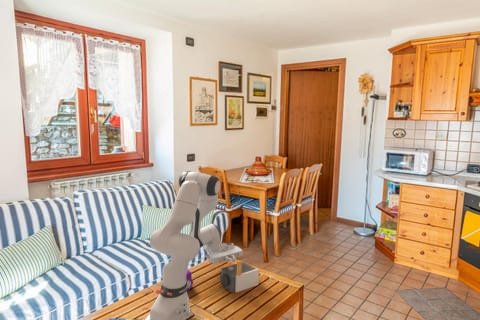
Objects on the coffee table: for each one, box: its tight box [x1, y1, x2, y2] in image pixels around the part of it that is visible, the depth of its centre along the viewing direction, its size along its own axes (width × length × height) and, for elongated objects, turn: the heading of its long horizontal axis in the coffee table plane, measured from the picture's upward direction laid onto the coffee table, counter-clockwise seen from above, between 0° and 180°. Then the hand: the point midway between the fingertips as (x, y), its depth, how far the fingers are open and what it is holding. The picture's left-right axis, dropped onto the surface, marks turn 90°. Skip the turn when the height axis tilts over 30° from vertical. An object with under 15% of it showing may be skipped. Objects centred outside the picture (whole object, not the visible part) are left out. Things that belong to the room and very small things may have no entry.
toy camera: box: [186, 268, 194, 292], centre depth 175 cm, size 11×14×10 cm
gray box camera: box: [219, 261, 256, 293], centre depth 180 cm, size 11×18×10 cm, turn 125°
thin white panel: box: [234, 260, 260, 294], centre depth 176 cm, size 2×16×17 cm, turn 125°
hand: (233, 260), depth 176 cm, fingers closed
